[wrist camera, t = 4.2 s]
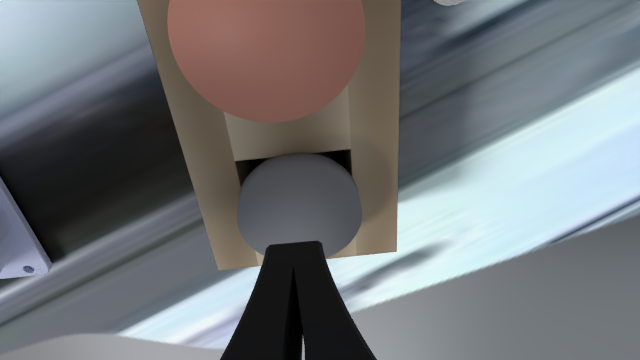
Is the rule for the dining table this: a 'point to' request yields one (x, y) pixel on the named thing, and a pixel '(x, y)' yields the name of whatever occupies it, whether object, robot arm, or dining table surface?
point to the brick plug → (267, 53)
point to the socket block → (293, 137)
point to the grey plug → (299, 203)
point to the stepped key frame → (449, 2)
